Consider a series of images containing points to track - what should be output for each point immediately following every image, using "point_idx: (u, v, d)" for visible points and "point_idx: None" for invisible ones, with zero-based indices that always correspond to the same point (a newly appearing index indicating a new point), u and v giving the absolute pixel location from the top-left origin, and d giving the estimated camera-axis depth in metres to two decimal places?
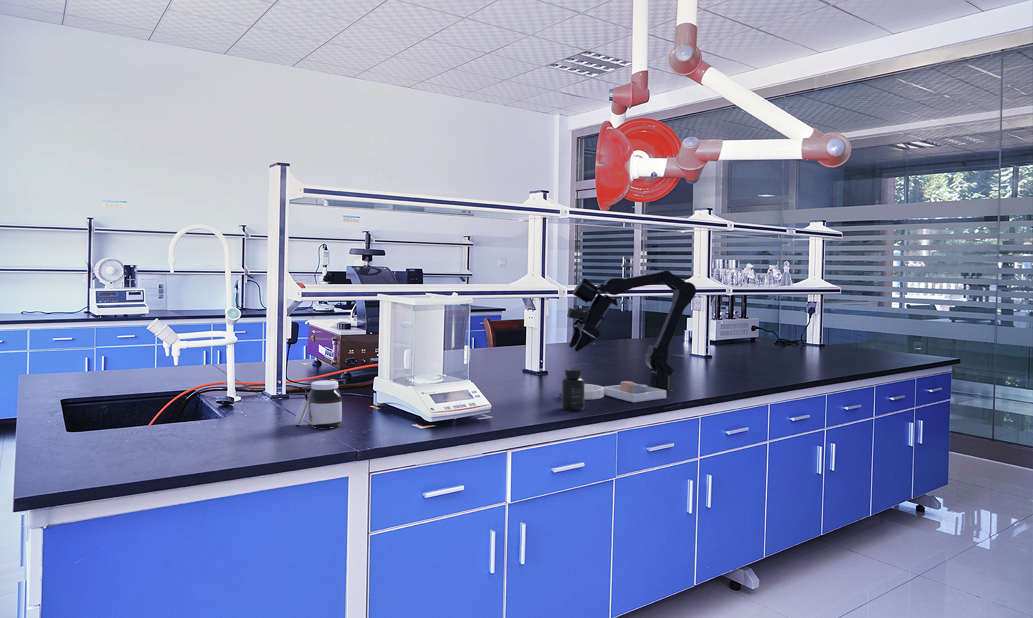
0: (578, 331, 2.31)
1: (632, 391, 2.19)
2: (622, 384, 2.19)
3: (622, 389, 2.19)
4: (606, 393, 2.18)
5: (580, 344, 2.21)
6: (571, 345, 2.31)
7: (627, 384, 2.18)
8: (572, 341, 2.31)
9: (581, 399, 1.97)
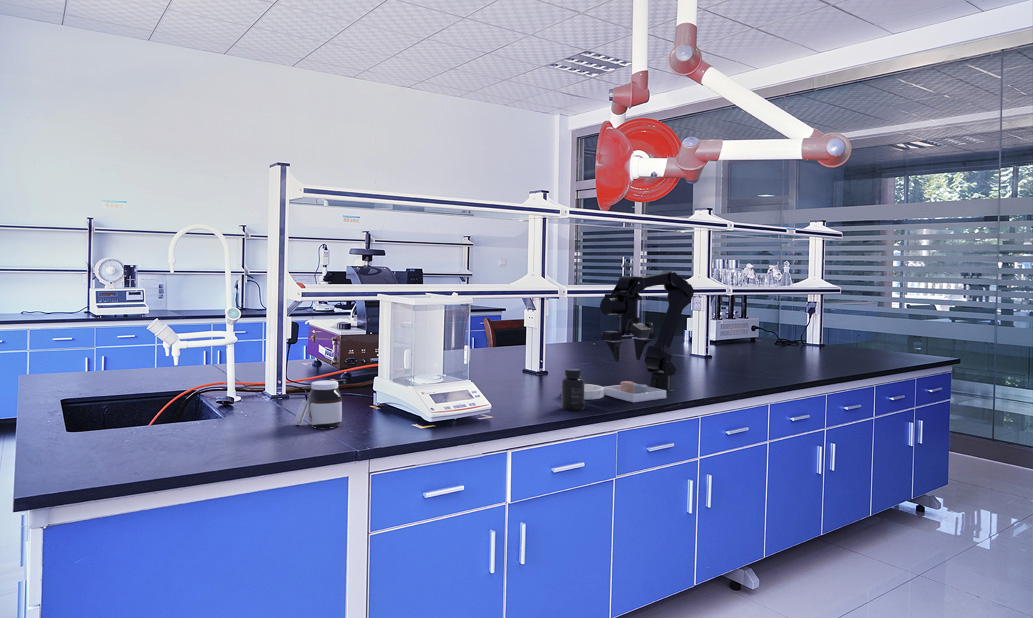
0: None
1: (632, 391, 2.19)
2: (622, 384, 2.19)
3: (622, 389, 2.19)
4: (606, 393, 2.18)
5: None
6: None
7: (627, 384, 2.18)
8: None
9: (581, 399, 1.97)
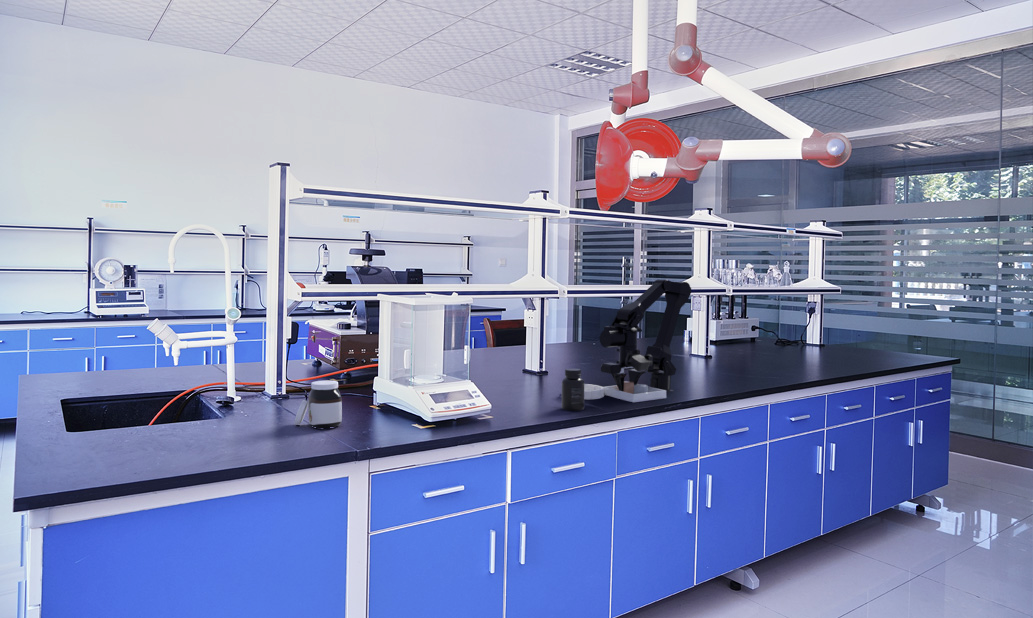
0: None
1: (632, 391, 2.19)
2: None
3: None
4: (606, 393, 2.18)
5: None
6: None
7: (627, 384, 2.18)
8: None
9: (581, 399, 1.97)
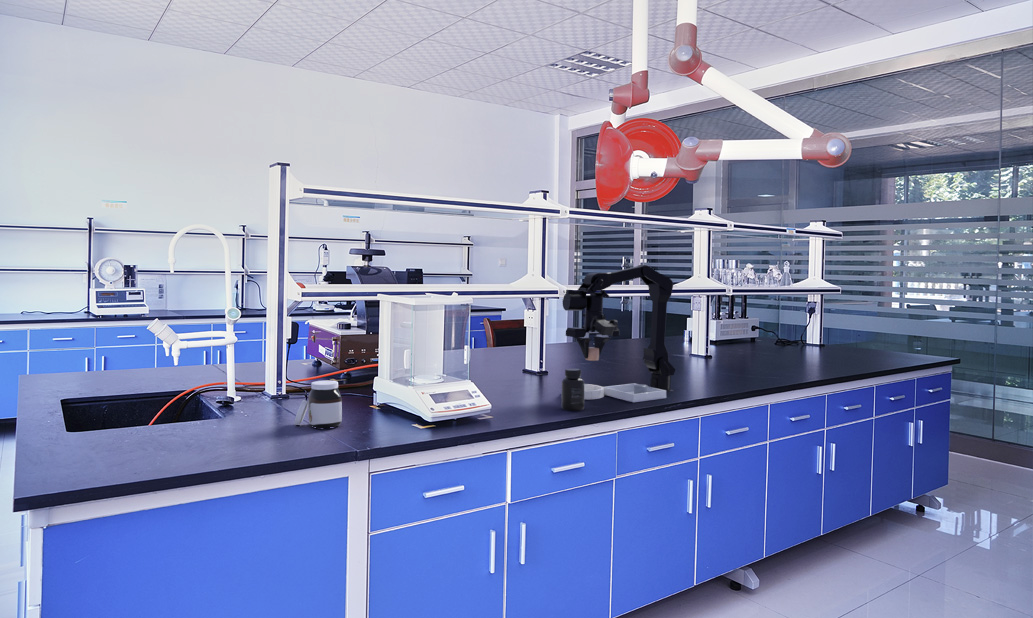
0: None
1: (597, 356, 2.18)
2: None
3: None
4: (606, 393, 2.18)
5: None
6: None
7: (592, 349, 2.17)
8: None
9: (581, 399, 1.97)
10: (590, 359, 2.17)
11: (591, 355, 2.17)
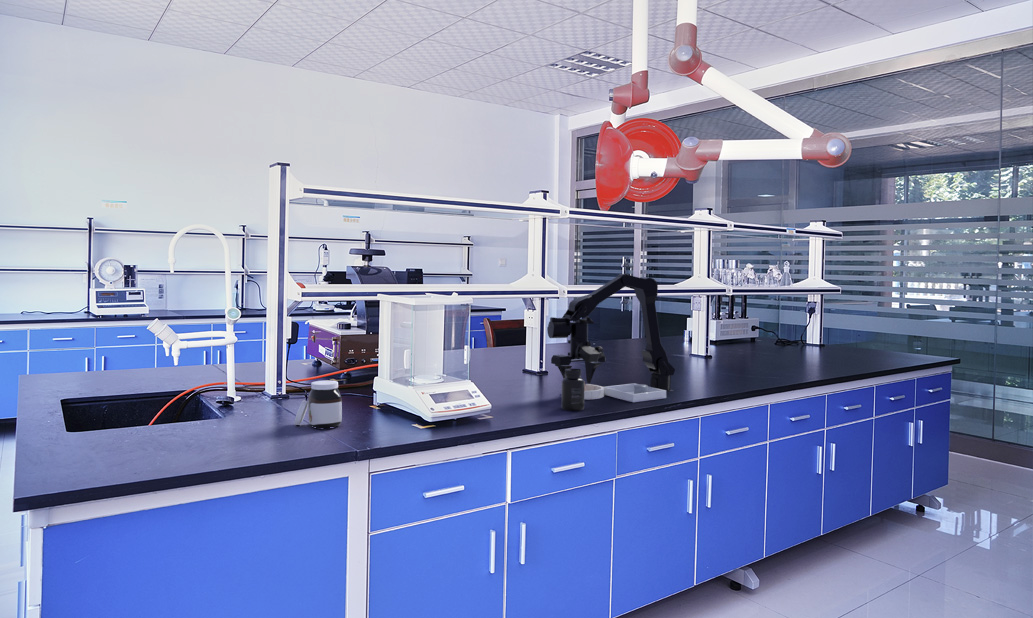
0: None
1: None
2: None
3: None
4: (606, 393, 2.18)
5: None
6: None
7: None
8: None
9: (581, 399, 1.97)
10: None
11: None
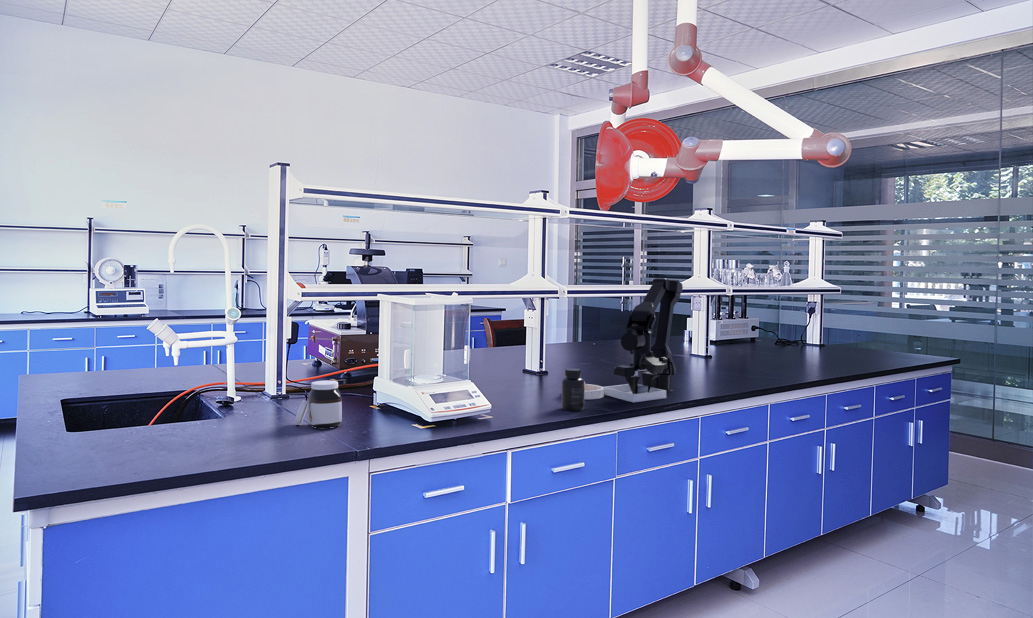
0: None
1: None
2: None
3: None
4: (606, 393, 2.18)
5: None
6: None
7: None
8: None
9: (581, 399, 1.97)
10: None
11: None
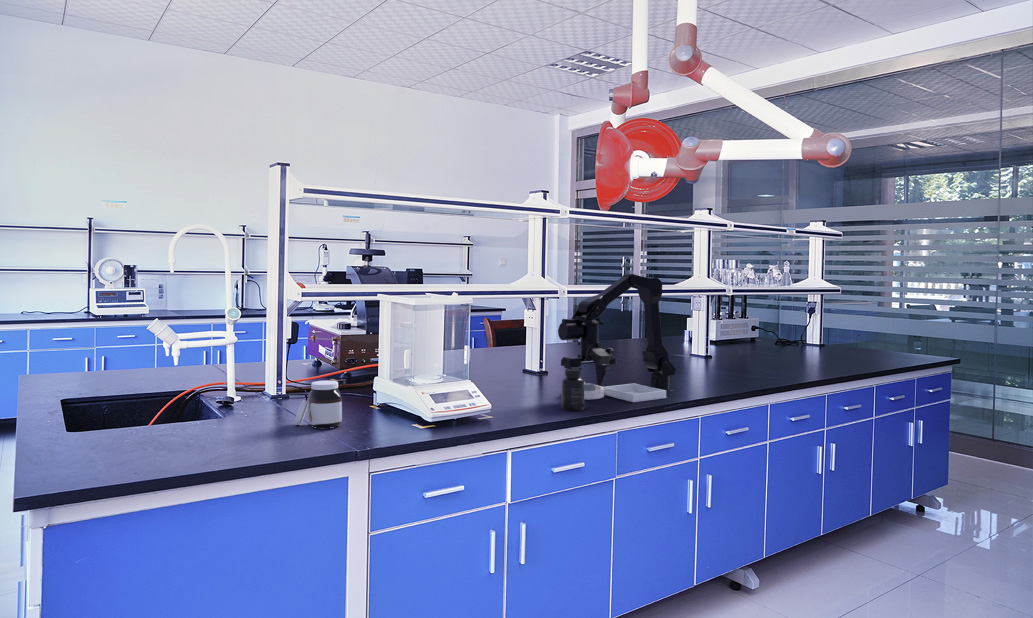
0: None
1: None
2: None
3: None
4: (606, 393, 2.18)
5: None
6: None
7: None
8: None
9: (581, 399, 1.97)
10: None
11: None
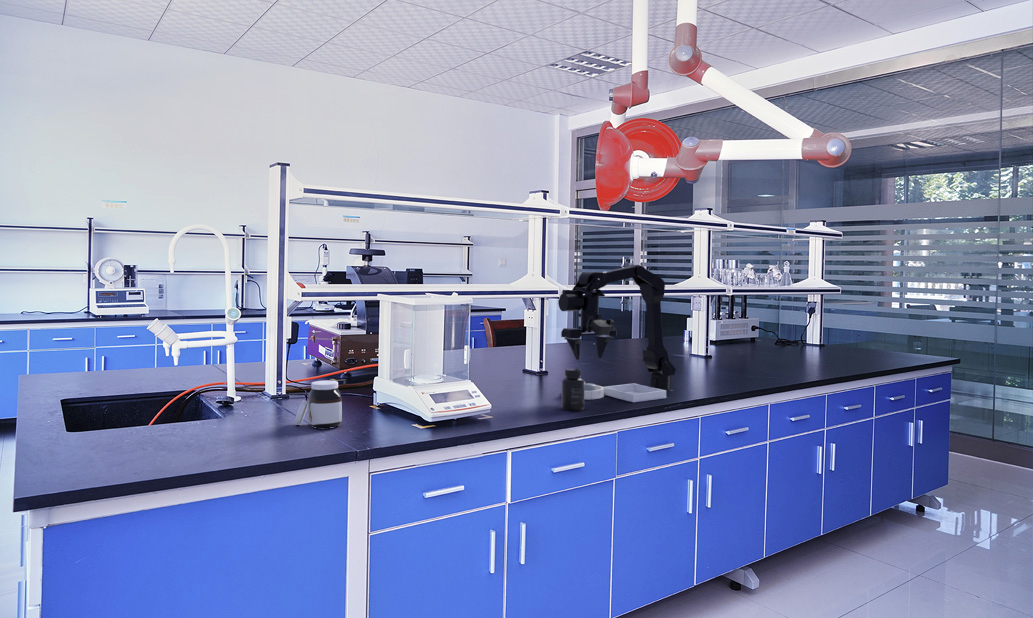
0: None
1: None
2: None
3: None
4: (606, 393, 2.18)
5: None
6: None
7: None
8: None
9: (581, 399, 1.97)
10: None
11: None
